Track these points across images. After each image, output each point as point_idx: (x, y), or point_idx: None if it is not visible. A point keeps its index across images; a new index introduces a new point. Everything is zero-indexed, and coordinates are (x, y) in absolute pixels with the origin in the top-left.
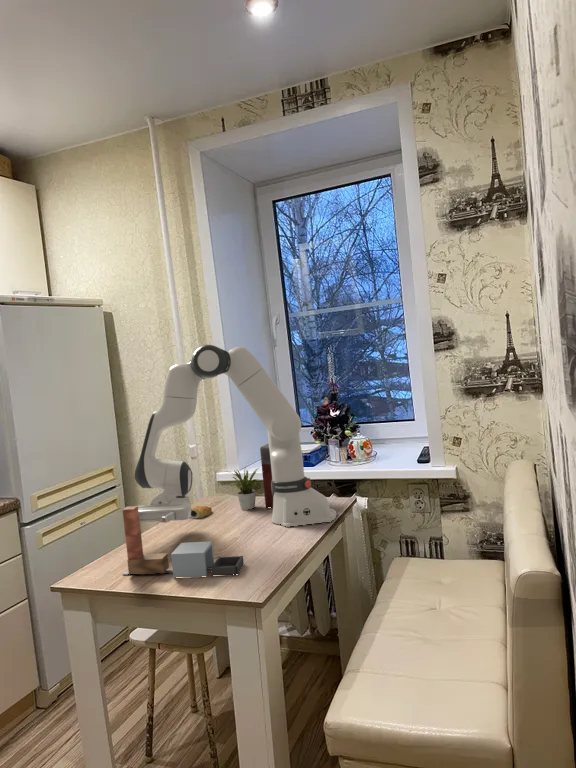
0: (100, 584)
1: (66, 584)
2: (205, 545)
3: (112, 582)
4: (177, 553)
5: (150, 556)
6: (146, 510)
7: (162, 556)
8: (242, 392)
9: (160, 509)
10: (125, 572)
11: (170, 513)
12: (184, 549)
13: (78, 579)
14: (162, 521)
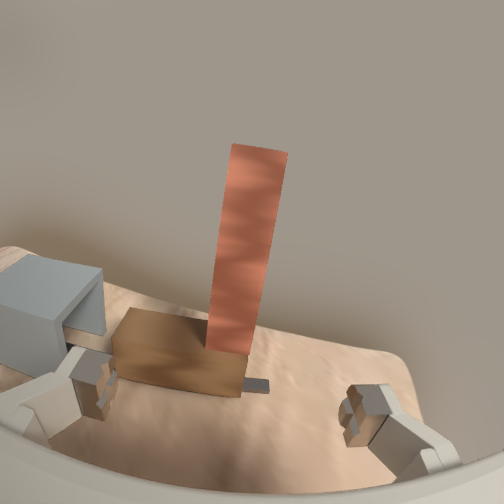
0: (301, 348)
1: (388, 357)
2: (2, 279)
3: (274, 352)
4: (85, 266)
5: (172, 331)
6: (362, 501)
7: (129, 320)
8: None
9: (135, 499)
10: (265, 388)
11: (27, 395)
12: (61, 278)
13: (385, 376)
14: (114, 378)
